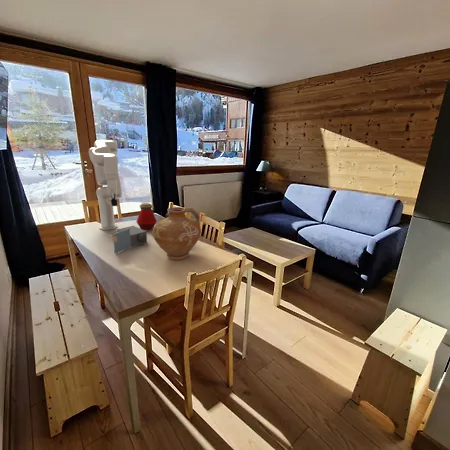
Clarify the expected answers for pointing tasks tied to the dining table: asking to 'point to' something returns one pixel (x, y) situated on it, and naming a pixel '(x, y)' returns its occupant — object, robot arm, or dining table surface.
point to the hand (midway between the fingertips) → (114, 205)
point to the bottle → (146, 217)
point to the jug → (178, 232)
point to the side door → (121, 240)
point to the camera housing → (136, 235)
